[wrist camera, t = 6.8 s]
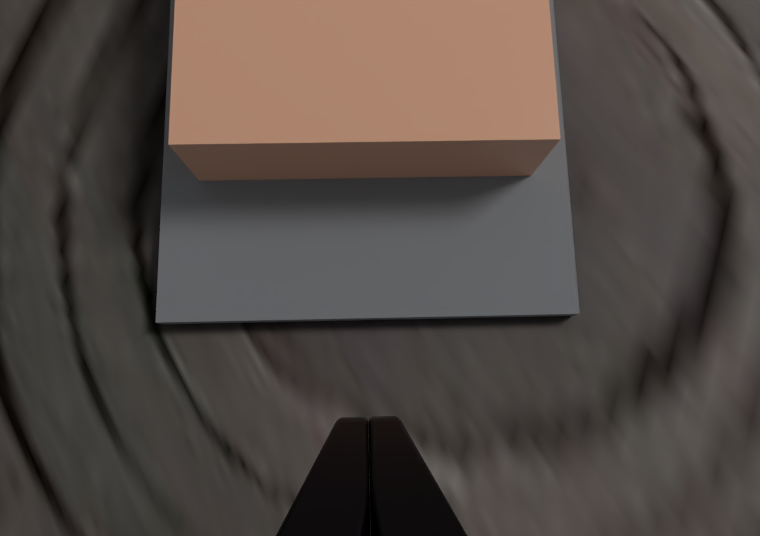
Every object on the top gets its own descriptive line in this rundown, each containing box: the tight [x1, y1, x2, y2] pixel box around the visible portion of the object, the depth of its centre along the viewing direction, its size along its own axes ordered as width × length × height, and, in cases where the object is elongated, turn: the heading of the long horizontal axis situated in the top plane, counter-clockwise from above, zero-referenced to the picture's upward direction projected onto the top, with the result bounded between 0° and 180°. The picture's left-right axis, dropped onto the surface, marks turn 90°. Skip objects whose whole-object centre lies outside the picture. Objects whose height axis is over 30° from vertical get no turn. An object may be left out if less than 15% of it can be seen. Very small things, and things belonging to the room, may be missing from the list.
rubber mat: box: [156, 0, 580, 324], centre depth 17 cm, size 14×11×1 cm
